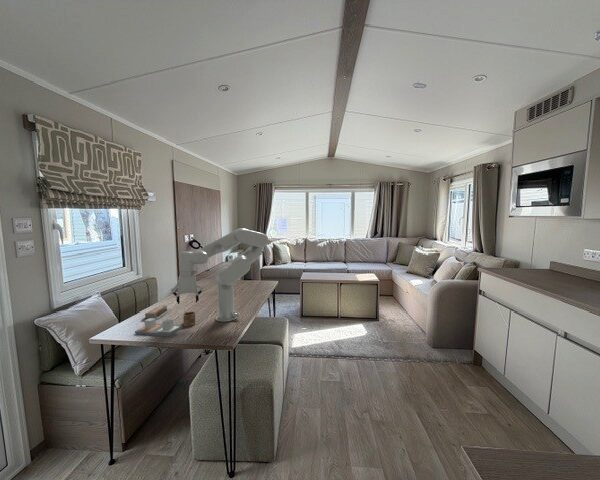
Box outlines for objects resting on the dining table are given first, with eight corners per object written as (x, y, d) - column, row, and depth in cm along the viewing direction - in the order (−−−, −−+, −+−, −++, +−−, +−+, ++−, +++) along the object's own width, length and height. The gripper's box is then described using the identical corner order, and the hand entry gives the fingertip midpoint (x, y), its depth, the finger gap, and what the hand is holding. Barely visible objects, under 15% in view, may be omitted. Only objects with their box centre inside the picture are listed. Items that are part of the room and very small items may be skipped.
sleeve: (195, 321, 173) (195, 311, 173) (195, 324, 168) (194, 314, 167) (184, 322, 172) (184, 312, 171) (183, 326, 166) (183, 315, 165)
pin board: (182, 328, 163) (182, 317, 162) (168, 336, 151) (167, 325, 151) (151, 325, 167) (150, 315, 167) (135, 334, 155) (134, 322, 155)
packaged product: (157, 313, 176) (141, 313, 176) (158, 320, 177) (141, 321, 177) (171, 304, 194) (156, 304, 194) (171, 311, 195) (156, 311, 195)
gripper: (203, 271, 174) (203, 300, 175) (171, 272, 168) (172, 302, 169) (203, 273, 167) (203, 303, 168) (170, 275, 161) (170, 305, 162)
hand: (187, 302), depth 169 cm, fingers open, 9 cm apart
